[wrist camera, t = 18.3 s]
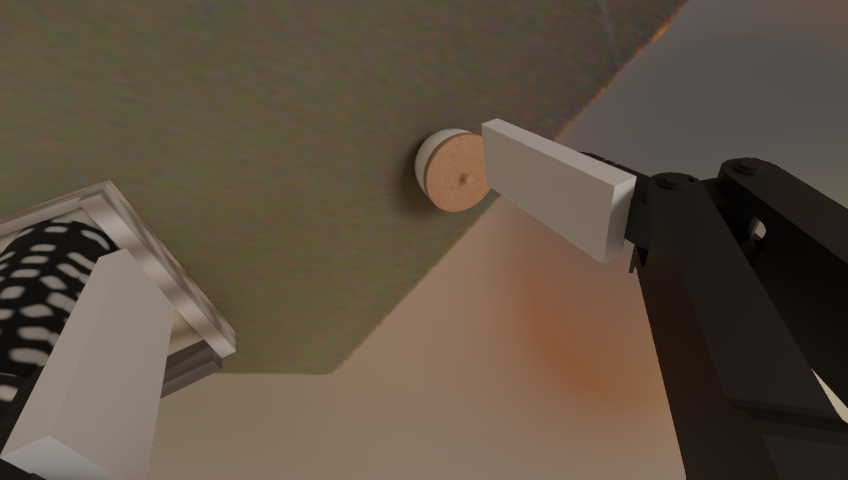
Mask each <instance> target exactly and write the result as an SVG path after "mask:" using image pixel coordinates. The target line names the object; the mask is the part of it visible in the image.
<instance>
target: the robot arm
mask: <svg viewBox="0 0 848 480" xmlns="http://www.w3.org/2000/svg"><path fill="white" fill-rule="evenodd" d="M481 126H482V139H483V151H484V163H485V175H486V184H487V185H488V186H490V187H491V188H493V189H494V190H495V191H497V192H498V193H500V194H501V195H503V196H505V197H506V198H507V199H509V200H510V201H511V202H513V203H514V204H516V205H517V206H519V207H520V208H522V209H523V210H525V211H526V212H527V213H529V214H530V215H532V216H533V217H535V218H536V219H538V220H539V221H541V222H542V223H544V224H545V225H546V226H548V227H549V228H551V229H552V230H554V231H555V232H557V233H558V234H560V235H561V236H563V237H564V238H565V239H567V240H568V241H570V242H571V243H573V244H574V245H575V246H577V247H578V248H580V249H582V250H583V251H584V252H586V253H587V254H589V255H590V256H592V257H593V258H594V259H596V260H598V261H599V262H600V263H602V264H604V263H606V262H608V261H610V260H612V259H614V258H616V257H618V256H620V255H622V250H623V245H624V240H625V239H627V240H628V241H630V242H632V243H633V244H634V249H633V254H632V259H631V263H630V268H629V273H633V270H634V268H635V267H636V269H637V273H638V278H639V282H640V286H641V290H642V294H643V299H644V303H645V307H646V311H647V315H648V319H649V323H650V328H651V332H652V336H653V340H654V344H655V348H656V353H657V357H658V361H659V365H660V369H661V373H662V377H663V381H664V386H665V390H666V393H667V398H668V402H669V407H670V411H671V415H672V419H673V423H674V427H675V431H676V435H677V439H678V444H679V448H680V452H681V456H682V461H683V464H684V469H685V474H686V480H848V423H846V422H845V421H844V420H842V418H841V417H840V416H839V414H838V413H837V412H836V410H835V408H834V407H833V405H832V403H831V402H830V400H829V398H828V396H827V395H826V393H825V391H824V390H823V388H822V386H821V384H820V383H819V381H818V379H817V378H816V376H815V375H814V373H813V371H815V373H816V374H817V375H818V376H819V377H820V378H821V379H822V380H823V382H824V383H825V384H826V385H827V386H828V387H829V388H830V389H831V390H832V391H833V392H834V394H835V395H836V396H837V397H838V398H839V399H840V400H841V401H842V402H843V404H844V405H845V406H846V407H847V408H848V209H847V208H845V207H844V206H842V205H840V204H839V203H837V202H835V201H834V200H832V199H831V198H829V197H827V196H826V195H824V194H822V193H821V192H819V191H817V190H816V189H814V188H812V187H811V186H809V185H808V184H806V183H804V182H803V181H801V180H799V179H798V178H796V177H795V176H793V175H791V174H790V173H788V172H786V171H785V170H783V169H781V168H780V167H778V166H777V165H774V164H772V163H770V162H767V161H763V160H760V159H757V158H752V159H751V158H738V159H731V160H727V161H725V162H724V163H722V165H721V168H720V171H719V174H718V177H717V178H712V179H707V180H701V181H699V180H698V179H697V178H695V177H693V176H690V175H687V174H682V173H672V172H668V173H660V174H657V175H654V176H652V177H649V176H646V175H644V174H641V173H639V172H636V171H634V170H631V169H629V168H627V167H624V166H622V165H619V164H617V165H616V164H615V163H614V162H611V161H609V160H605V159H604V158H602V157H599V156H597V155H594V154H591V153H585V152H579V151H574V150H572V149H569V148H567V147H565V146H562V145H560V144H557V143H555V142H553V141H550V140H548V139H546V138H543V137H541V136H538V135H536V134H534V133H531V132H529V131H526V130H524V129H522V128H519V127H517V126H514V125H512V124H510V123H507V122H505V121H502V120H500V119H498V118H497V119H494V120H491V121H489V122H486V123H483V124H481ZM760 221H761V222H762V223H763V224H764V226H765V228H766V233H765V235H764V237H763V238H761V237H759V236H758V235H757V234H756V233H755V231H756V228H757V226H758V224H759V222H760ZM174 312H175V307H174V305H173V304H172V303H171V302H170V301H169V299H168V298H167V297H166V296H165V295H164V293H163V292H162V291H161V290H160V289H159V287H158V286H157V285H156V284H155V283H154V281H153V280H152V279H151V278H150V277H149V275H148V274H147V273H146V272H145V271H144V269H143V268H142V267H141V266H140V265H139V263H138V262H137V261H136V260H135V259H134V257H133V256H132V255H131V254H130V253H129V251H128V250H127V249H126V248H125V249H122V250H119V251H116V252H113V253H110V254H107V255H105V256H102V257H99V258H98V260H97V262H96V264H95V266H94V268H93V270H92V272H91V274H90V276H89V278H88V280H87V282H86V285H85V287H84V289H83V291H82V293H81V295H80V297H79V299H78V301H77V303H76V305H75V307H74V309H73V311H72V313H71V315H70V317H69V319H68V321H67V323H66V325H65V327H64V329H63V331H62V333H61V335H60V337H59V339H58V341H57V343H56V345H55V347H54V349H53V351H52V353H51V355H50V357H49V359H48V361H47V363H46V365H43V366H41V367H38V368H37V369H36V370H35V371H34V372H33V373H32V374H31V375H30V376H29V378H28V379H27V380H26V381H25V382H24V383H23V384H22V385H21V386H20V387H19V389H18V390H17V392H16V394H15V396H14V398H13V400H12V402H11V403H10V405H9V407H8V408H9V411H7V412H6V413H5V415H4V416H3V418H2V420H1V422H0V480H147V475H148V468H149V463H150V457H151V451H152V445H153V438H154V432H155V426H156V420H157V414H158V408H159V402H160V396H161V390H162V384H163V378H164V372H165V366H166V360H167V354H168V348H169V342H170V336H171V330H172V324H173V318H174ZM811 368H812V369H813V371H812V369H811Z"/></svg>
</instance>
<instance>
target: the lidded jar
mask: <svg viewBox="0 0 848 480" xmlns="http://www.w3.org/2000/svg"><path fill="white" fill-rule="evenodd" d="M415 174H416V178H417V181H418V183H419V185H420V187H421V189H422V190H423V192H424V193H425V194H426V195H427V196H428V198H429V199H430V200H431V201H432V203H433V204H435V205H436V206H437V207H438V208H440V209H442V210H445V211H449V212H458V211H463V210H466V209H468V208H470V207H472V206H474V205H475V204H477V203H478V202H479V201H480V200H482V199H483V198H484V196H485V195H486V194H487V193H488V191H489V190H490V188H491V187H490V186H488V185H487V184H486V175H485V163H484V151H483V139H482V137H481V136H479V135H477V134H473V133H471V132H469V131H465V130H461V129H444V130H441V131H438V132H436V133H434V134H432V135H431V136H429V137H428V138H427V139H426V140H425V141H424V143H423V144H422V145H421V147H420V148H419V150H418V153H417V156H416V159H415Z"/></svg>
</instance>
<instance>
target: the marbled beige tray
mask: <svg viewBox="0 0 848 480" xmlns="http://www.w3.org/2000/svg"><path fill="white" fill-rule="evenodd" d="M57 219H64V220H73V221H78V222H82V223H85V224H88V225H90V226H93V227H95V228H97V229H99V230H100V231H102V232H103V233H105V234H106V235H107V236H108V237H109V238H110V239H111V240H112V241H113V242H114V244H115V246H116V248H117V251H119V250H122V249H125V248H126V249H127V250H128V251H129V253H130V254H131V255H132V256H133V257H134V259H135V260H136V261H137V262H138V263H139V265H140V266H141V267H142V268H143V269H144V271H145V272H146V273H147V274H148V275H149V277H150V278H151V279H152V280H153V281H154V283H155V284H156V285H157V286H158V287H159V289H160V290H161V291H162V292H163V293H164V295H165V296H166V297H167V298H168V299H169V301H170V302H171V303H172V304H173V305H174V307H175V312H174V318H173V324H172V330H171V336H170V342H169V348H168V354H167V360H166V366H165V372H164V378H163V384H162V390H161V396H160V399H161V398H162V397H165V396H167V395H169V394H171V393H173V392H175V391H177V390H179V389H181V388H184V387H186V386H188V385H190V384H192V383H194V382H196V381H198V380H200V379H202V378H204V377H206V376H209V375H211V374H213V373H215V372H217V371H219V370H221V369H222V358H223V357H225V356H228V355H230V354H232V353H234V352H236V334H235V331H234V330H233V328H232V327H231V326H230V325H229V324H228V322H227V321H226V320H225V319H224V318H223V316H222V315H221V314H220V313H219V311H218V310H217V309H216V308H215V307H214V305H213V304H212V303H211V302H210V301H209V299H208V298H207V297H206V296H205V295H204V293H203V292H202V291H201V290H200V288H199V287H198V286H197V285H196V284H195V282H194V281H193V280H192V279H191V278H190V276H189V275H188V274H187V273H186V271H185V270H184V269H183V268H182V267H181V265H180V264H179V263H178V262H177V261H176V259H175V258H174V257H173V256H172V255H171V253H170V252H169V251H168V250H167V248H166V247H165V246H164V245H163V244H162V242H161V241H160V240H159V239H158V238H157V236H156V235H155V234H154V233H153V231H152V230H151V229H150V228H149V227H148V225H147V224H146V223H145V222H144V221H143V219H142V218H141V217H140V216H139V215H138V213H137V212H136V211H135V210H134V208H133V207H132V206H131V205H130V204H129V202H128V201H127V200H126V199H125V198H124V196H123V195H122V194H121V193H120V191H119V190H118V189H117V188H116V187H115V185H114V184H113V183H112V182H111V181H110V179H109V180H107V181H104V182H101V183H98V184H95V185H92V186H89V187H86V188H84V189H81V190H78V191H75V192H72V193H69V194H66V195H63V196H60V197H58V198H55V199H52V200H49V201H46V202H43V203H40V204H37V205H35V206H32V207H29V208H26V209H23V210H20V211H17V212H14V213H11V214H9V215H6V216H3V217H0V254H1V253H2V252H3V251H4V250H5V248H6V247H7V246H8V245H9V244H10V243H11V241H12V240H13V239H14V238H15V237H16V235H17V234H18V233H19V232H21V231H22V230H23V229H24V228H26V227H28V226H30V225H33V224H36V223H39V222H42V221H46V220H57Z"/></svg>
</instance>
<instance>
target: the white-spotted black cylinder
mask: <svg viewBox="0 0 848 480" xmlns="http://www.w3.org/2000/svg"><path fill="white" fill-rule="evenodd" d="M116 251H117V248H116V246H115V244H114V242H113V241H112V240H111V239H110V238H109V237H108V236H107V235H106V234H105V233H103V232H102V231H100V230H99V229H97V228H95V227H93V226H90V225H88V224H85V223H82V222H78V221H73V220H64V219H57V220H46V221H42V222H39V223H36V224H33V225H30V226H28V227H26V228H24V229H23V230H22V231H21V232H19V233H18V234H17V235H16V237H15V238H14V239H13V240H12V241H11V243H10V244H9V245H8V246H7V247H6V248H5V250H4V251H3V252H2V253H1V254H0V422H1V420H2V418H3V416H4V415H5V413H6V412H7V411H9V408H8V407H9V405H10V403H11V402H12V400H13V398H14V396H15V394H16V392H17V390H18V389H19V387H20V386H21V385H22V384H23V383H24V382H25V381H26V380H27V379H28V378H29V376H30V375H31V374H32V373H33V372H34V371H35V370H36V369H37V368H38V367H41V366H43V365H46V363H47V361H48V359H49V357H50V355H51V353H52V351H53V349H54V347H55V345H56V343H57V341H58V339H59V337H60V335H61V333H62V331H63V329H64V327H65V325H66V323H67V321H68V319H69V317H70V315H71V313H72V311H73V309H74V307H75V305H76V303H77V301H78V299H79V297H80V295H81V293H82V291H83V289H84V287H85V285H86V282H87V280H88V278H89V276H90V274H91V272H92V270H93V268H94V266H95V264H96V262H97V260H98V258H99V257H102V256H105V255H107V254H110V253H113V252H116Z"/></svg>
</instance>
